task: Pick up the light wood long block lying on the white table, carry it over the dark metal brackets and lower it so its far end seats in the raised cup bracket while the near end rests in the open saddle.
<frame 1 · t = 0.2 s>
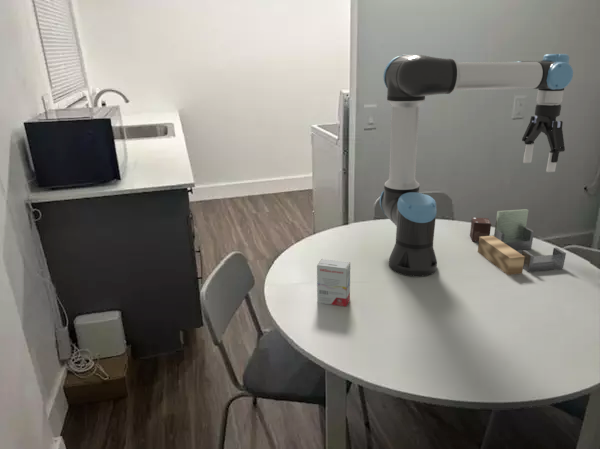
hand: (538, 167, 161), 27 cm above the table, fingers open, 13 cm apart
rest saddle: (541, 267, 150), on the table
ink box: (333, 301, 132), on the table
box: (479, 239, 173), on the table
light wood long block: (498, 262, 154), on the table
cup bracket: (512, 247, 165), on the table
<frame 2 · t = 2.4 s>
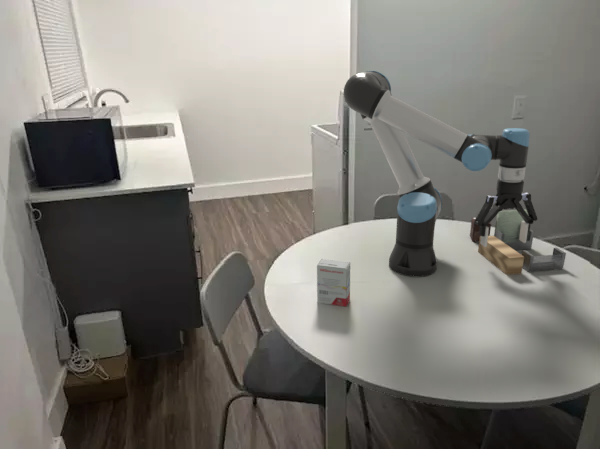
hand: (503, 243, 151), 7 cm above the table, fingers open, 13 cm apart
nothing on the table moved.
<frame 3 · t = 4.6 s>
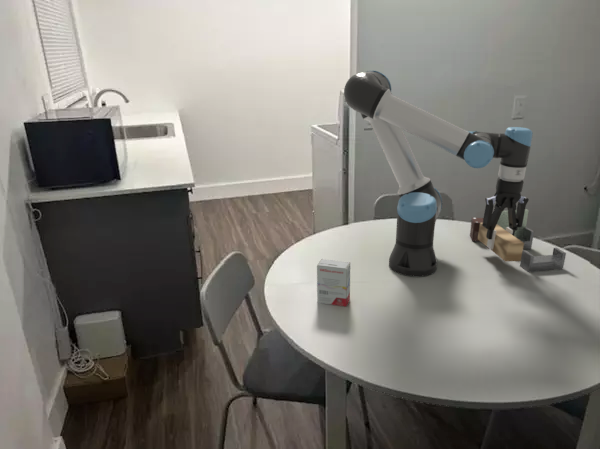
hand: (498, 247, 152), 5 cm above the table, fingers closed on light wood long block, 5 cm apart
light wood long block: (497, 249, 152), point 4 cm above the table, touching gripper
everything else where it was.
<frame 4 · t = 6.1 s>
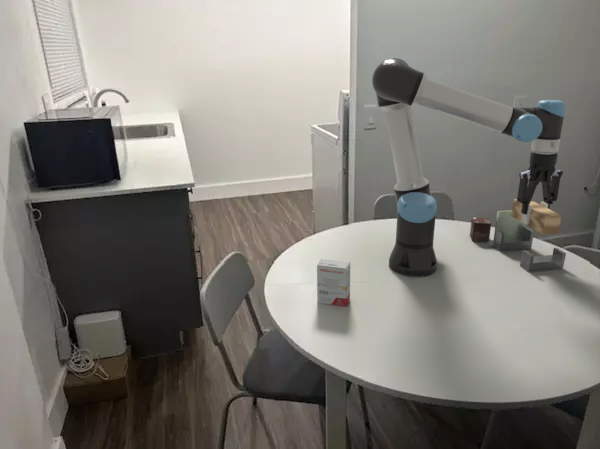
hand: (533, 222, 152), 13 cm above the table, fingers closed on light wood long block, 5 cm apart
light wood long block: (533, 224, 152), point 12 cm above the table, touching gripper
everything else where it was.
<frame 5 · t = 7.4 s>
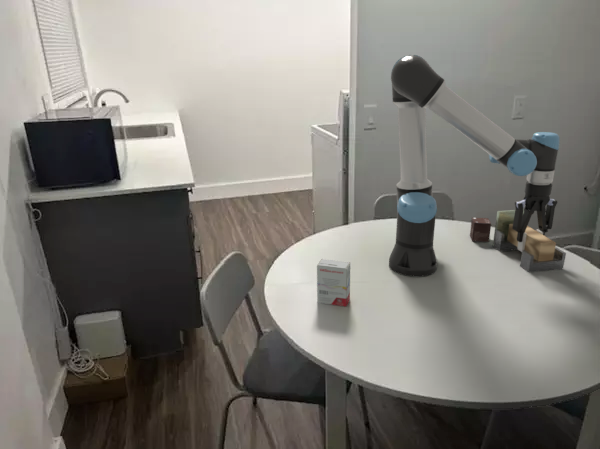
hand: (528, 249, 156), 3 cm above the table, fingers closed on light wood long block, 5 cm apart
light wood long block: (528, 249, 155), point 3 cm above the table, touching cup bracket, gripper, rest saddle
everything else where it was.
when the fingers open (3 cm above the table, at t = 7.7 s): light wood long block stays where it is, resting on cup bracket, rest saddle.
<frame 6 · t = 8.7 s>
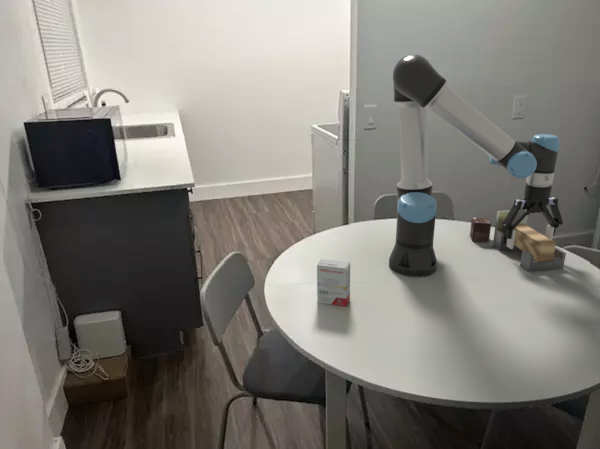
hand: (528, 246, 155), 4 cm above the table, fingers open, 13 cm apart
light wood long block: (528, 249, 155), point 3 cm above the table, touching cup bracket, rest saddle
everything else where it was.
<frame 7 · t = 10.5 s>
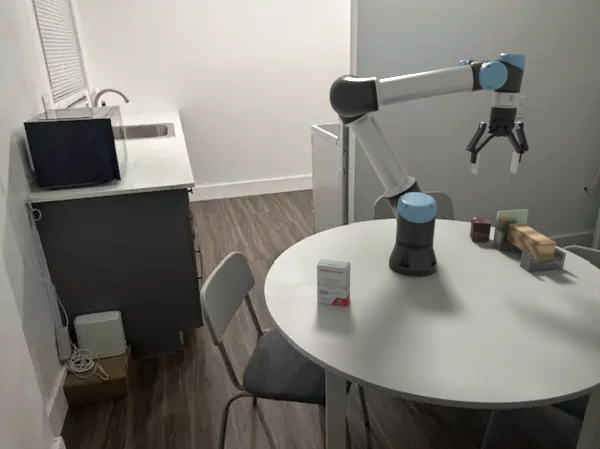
hand: (493, 173, 152), 28 cm above the table, fingers open, 13 cm apart
nothing on the table moved.
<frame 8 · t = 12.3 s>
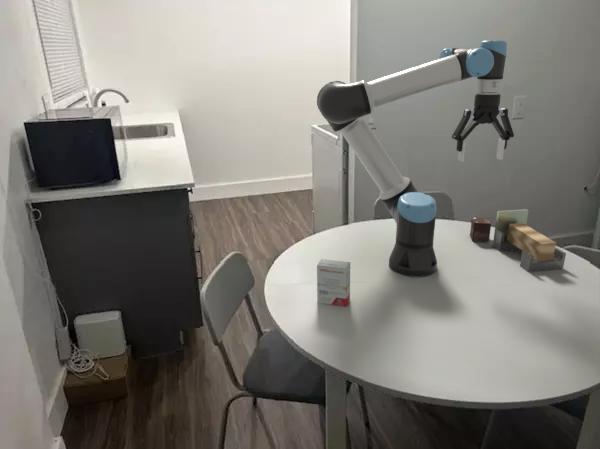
hand: (480, 160, 153), 32 cm above the table, fingers open, 13 cm apart
nothing on the table moved.
at the end: light wood long block 0.2 cm from the target spot, point 3.0 cm above the table; light wood long block tilted 0°; light wood long block touching cup bracket, rest saddle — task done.
